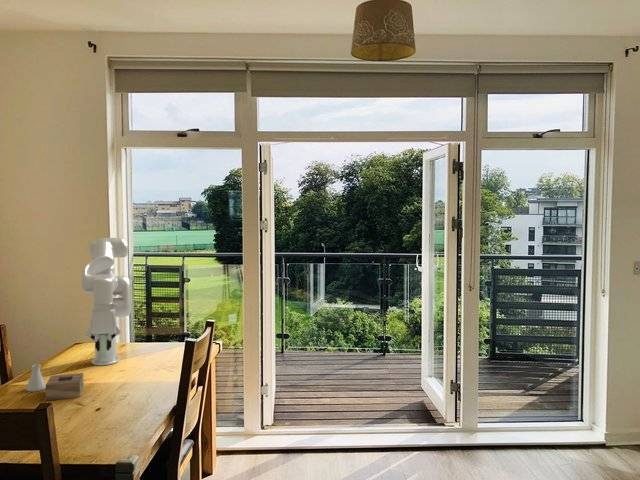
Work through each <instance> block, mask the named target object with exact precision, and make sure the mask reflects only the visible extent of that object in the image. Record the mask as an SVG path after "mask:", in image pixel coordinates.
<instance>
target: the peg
mask: <svg viewBox="0 0 640 480" xmlns="http://www.w3.org/2000/svg"><path fill="white" fill-rule="evenodd" d="M107 341H108V334H99V358H107V357H108V350H107Z"/></svg>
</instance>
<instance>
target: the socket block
mask: <svg viewBox="0 0 640 480" xmlns="http://www.w3.org/2000/svg"><path fill="white" fill-rule="evenodd" d="M45 384H46V388H45V401H52V400H61V399H62V400H63V399H73V398H80V397H81V394H82V392H83V389H84V372H79V373H68V374H67V373H66V374H53V375H50V377H49V379H48V380H47V382H46V383H45Z"/></svg>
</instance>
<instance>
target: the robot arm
mask: <svg viewBox="0 0 640 480" xmlns="http://www.w3.org/2000/svg"><path fill="white" fill-rule="evenodd" d="M89 253H90V256H91V259H92V260H91V261H89V262H88V263H87V264H86V265H85V267H84V268H83V269H82V271H81V272H82V273H81V282H80V285H81V290H83V292H85V293H92V300H93V301H92V310H91V312H90V318H89V320H90V321H89V328H88V330H87V331H86V333H85V336H87V337H89V338H90V339H92V341H94V358H93V359H91V364H92V365H93V366H110V365H114V364H117V363H118V362H120V357H118V356H117V337H116V336H119V335H120V334H121V329H119V326H118V325H117V318H121V317H122V318H123V317H128V316H130V314H131V312H132V283H131V280H130V278H129V277H128V276H127V275H115V265H114V264H115V258H126V257H127V256H128V253H129V242H128V240H127V239H126V238H124V237H103V238H101V237H100V238H99V239H97V240H95V241H92V242H90V244H89ZM114 296H121V297H114ZM99 334H108V341H107V350H108V357H107V358H99Z"/></svg>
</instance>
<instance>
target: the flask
mask: <svg viewBox="0 0 640 480" xmlns="http://www.w3.org/2000/svg"><path fill="white" fill-rule="evenodd" d="M41 366H42V364H38V363H37V364H33V365H31V366H30V367H31V368H32V369H31V375H30V378H29V380H28V383H27V385H26V388H25V391H27V392H34V393H35V392H39V391H44V390H46V384H47V383H46V382H45V380H44V378H43V375H42V373H41Z"/></svg>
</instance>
